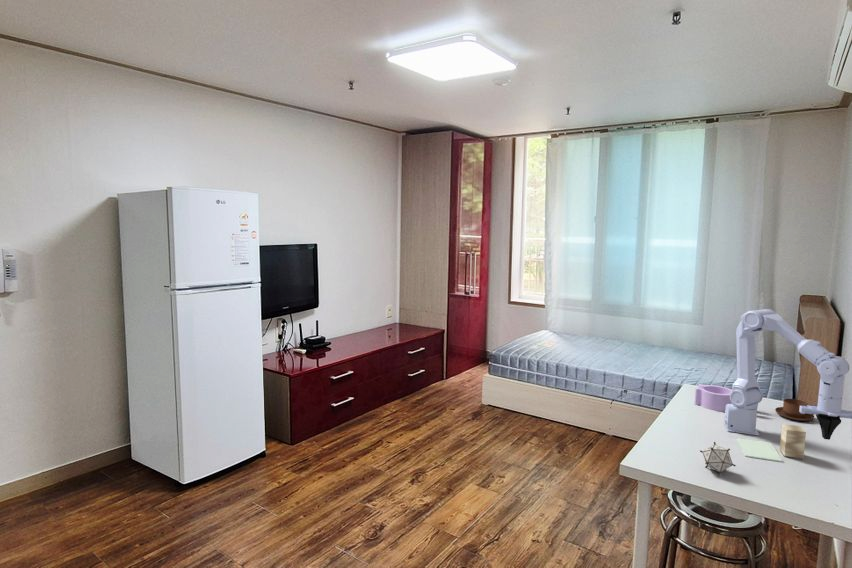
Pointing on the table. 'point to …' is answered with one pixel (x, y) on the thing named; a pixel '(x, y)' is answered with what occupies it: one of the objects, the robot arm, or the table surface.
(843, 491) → the table surface
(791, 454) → the maple block
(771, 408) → the table surface
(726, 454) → the game die
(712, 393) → the clip
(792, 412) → the cup and saucer
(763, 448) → the mat
